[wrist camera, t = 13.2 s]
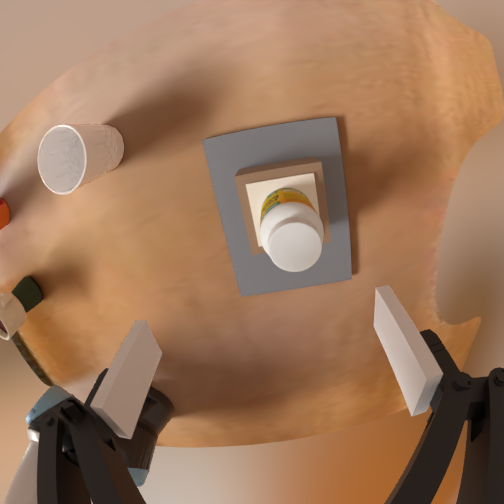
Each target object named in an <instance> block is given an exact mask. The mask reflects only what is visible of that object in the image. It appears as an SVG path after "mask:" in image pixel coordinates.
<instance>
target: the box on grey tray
mask: <svg viewBox="0 0 504 504" xmlns="http://www.w3.org/2000/svg"><path fill="white" fill-rule="evenodd" d="M202 141H203V146H204V150H205V154H206V159H207V163H208V167H209V171H210V176H211V180H212V184H213V188H214V192H215V196H216V200H217V204H218V208H219V212H220V217H221V221H222V225H223V229H224V232H225V236H226V240H227V244H228V248H229V252H230V256H231V260H232V264H233V268H234V271H235V275H236V279H237V283H238V287H239V290H240V294H241V297H243V296H250V295H257V294H264V293H271V292H277V291H284V290H290V289H297V288H303V287H309V286H315V285H321V284H327V283H333V282H338V281H344V280H349V279H352V268H351V246H350V230H349V217H348V206H347V195H346V186H345V177H344V169H343V161H342V154H341V147H340V141H339V134H338V128H337V122H336V117H330V118H321V119H313V120H305V121H297V122H290V123H284V124H278V125H272V126H266V127H260V128H255V129H250V130H245V131H240V132H235V133H230V134H226V135H221V136H217V137H213V138H209V139H204V140H202ZM285 187H290V188H294V189H297V190H299V191H301V192H302V193H304V194H305V195H306V196H307V198H308V199H309V201H310V202H311V204H312V206H313V207H314V209H315V210H316V212H317V214H318V215H319V217H320V219H321V221H322V224H323V228H324V238H323V242H322V251H321V255H320V257H319V259H318V260H317V261H316V263H315V264H314V265H312V266H311V267H310V268H308V269H306V270H303V271H299V272H289V271H285V270H283V269H281V268H279V267H278V266H276V265H275V264H274V262H273V261H272V260H271V258H270V256H269V255H268V254H267V253H266V251H265V250H264V248H263V246H262V244H261V240H260V218H261V207H262V204H263V202H264V200H265V198H266V197H267V196H268V195H269V194H270V193H271V192H273V191H275V190H277V189H280V188H285Z"/></svg>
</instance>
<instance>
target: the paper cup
mask: <svg viewBox="0 0 504 504" xmlns="http://www.w3.org/2000/svg"><path fill="white" fill-rule="evenodd" d="M9 221H10V211H9V207H8V205H7V203H6V202H5V200H3V199H0V230H1V229H2V228H3V227H5V226H6V225H7V224H8V223H9Z"/></svg>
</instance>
